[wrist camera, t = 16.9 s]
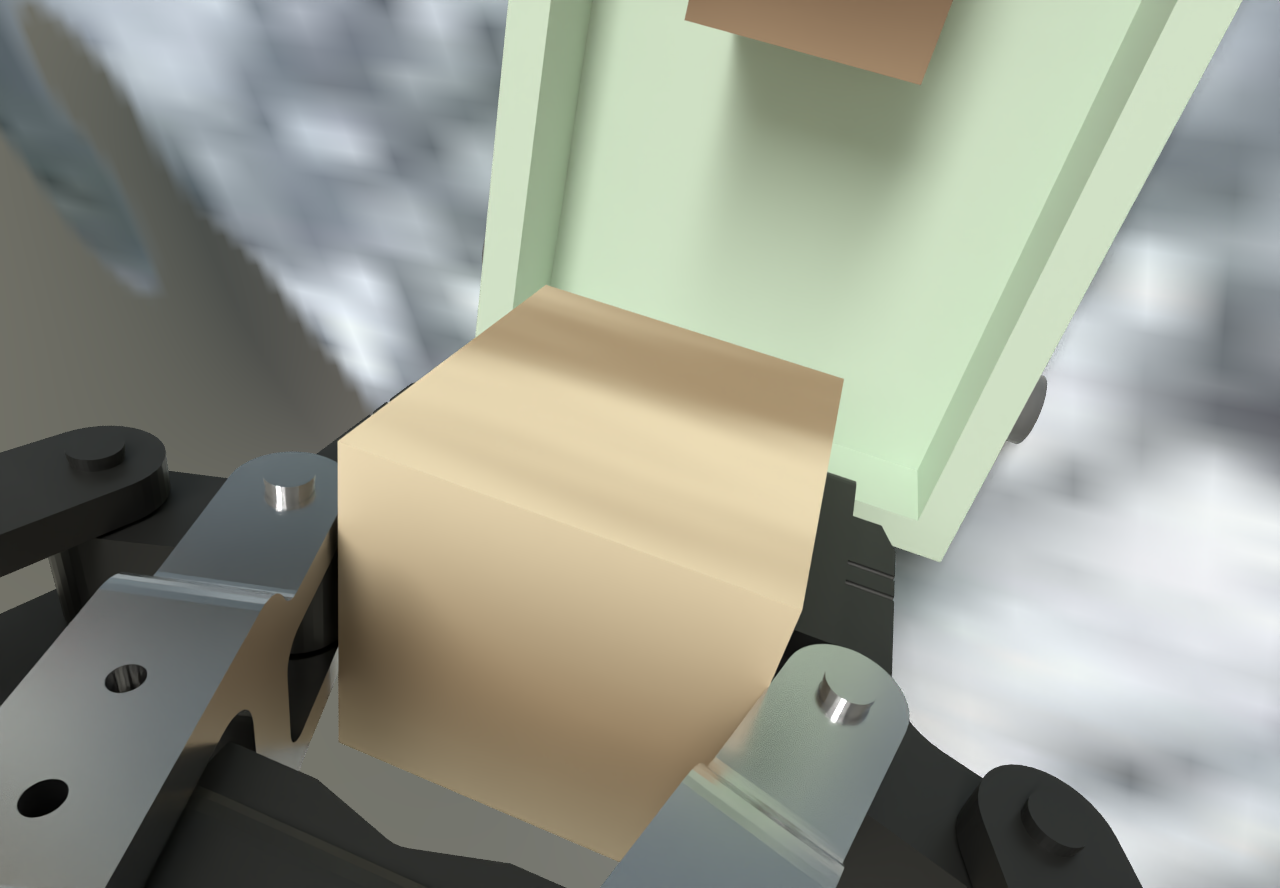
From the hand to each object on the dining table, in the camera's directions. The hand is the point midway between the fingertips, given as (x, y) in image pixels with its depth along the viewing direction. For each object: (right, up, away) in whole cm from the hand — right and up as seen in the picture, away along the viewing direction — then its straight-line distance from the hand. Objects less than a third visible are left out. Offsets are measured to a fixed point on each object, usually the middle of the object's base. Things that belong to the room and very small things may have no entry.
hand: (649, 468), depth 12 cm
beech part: (0, 0, 0) cm, 0 cm away
